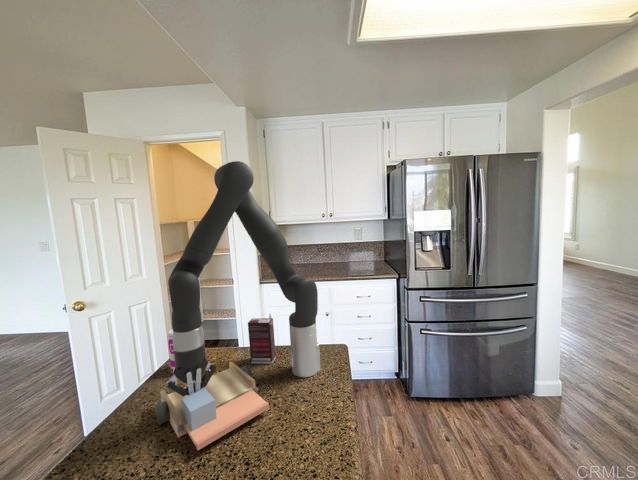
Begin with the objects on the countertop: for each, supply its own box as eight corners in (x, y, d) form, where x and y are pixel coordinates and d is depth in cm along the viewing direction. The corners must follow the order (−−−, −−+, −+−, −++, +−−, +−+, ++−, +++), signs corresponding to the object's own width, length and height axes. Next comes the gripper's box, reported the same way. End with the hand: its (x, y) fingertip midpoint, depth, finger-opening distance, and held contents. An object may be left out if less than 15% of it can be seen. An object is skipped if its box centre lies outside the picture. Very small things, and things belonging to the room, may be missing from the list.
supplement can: (186, 376, 96) (182, 335, 95) (165, 374, 98) (161, 334, 97) (200, 364, 104) (196, 325, 103) (181, 362, 106) (177, 325, 105)
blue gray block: (206, 405, 76) (205, 388, 75) (216, 418, 70) (215, 399, 70) (183, 416, 72) (181, 398, 71) (192, 431, 66) (190, 411, 66)
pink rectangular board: (252, 389, 82) (268, 403, 75) (252, 393, 82) (269, 408, 75) (184, 424, 69) (197, 444, 62) (185, 429, 69) (197, 450, 62)
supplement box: (276, 357, 106) (273, 317, 105) (272, 364, 101) (269, 322, 100) (254, 357, 107) (252, 317, 106) (250, 363, 103) (247, 322, 101)
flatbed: (239, 372, 97) (238, 358, 97) (265, 394, 84) (264, 378, 84) (152, 411, 79) (150, 395, 78) (168, 446, 66) (166, 427, 65)
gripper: (208, 332, 80) (213, 388, 82) (158, 348, 72) (164, 410, 73) (219, 339, 75) (224, 399, 76) (165, 357, 66) (171, 425, 67)
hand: (194, 404), depth 75 cm, fingers closed
